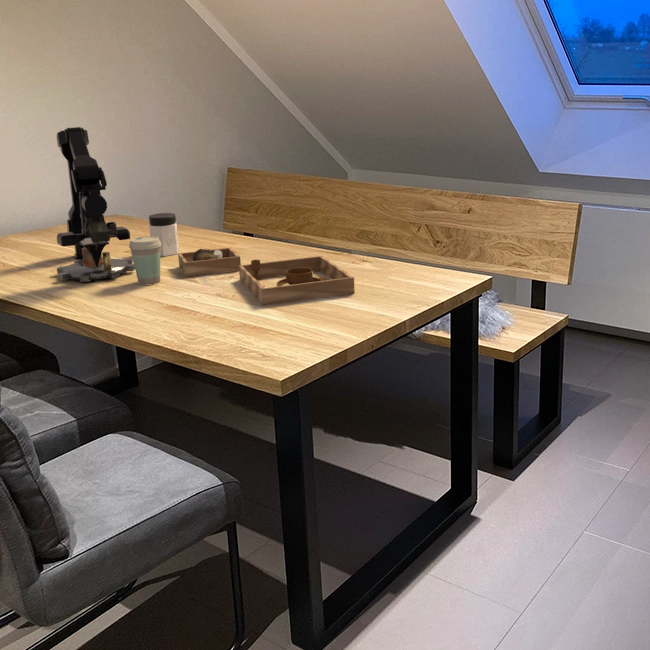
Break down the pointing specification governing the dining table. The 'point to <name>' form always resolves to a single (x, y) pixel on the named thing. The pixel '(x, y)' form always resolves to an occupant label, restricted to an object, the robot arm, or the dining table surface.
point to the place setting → (290, 275)
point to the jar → (165, 232)
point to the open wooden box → (209, 263)
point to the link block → (88, 256)
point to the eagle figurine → (206, 255)
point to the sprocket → (95, 269)
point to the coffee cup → (146, 258)
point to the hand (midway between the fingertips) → (96, 267)
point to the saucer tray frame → (296, 292)
